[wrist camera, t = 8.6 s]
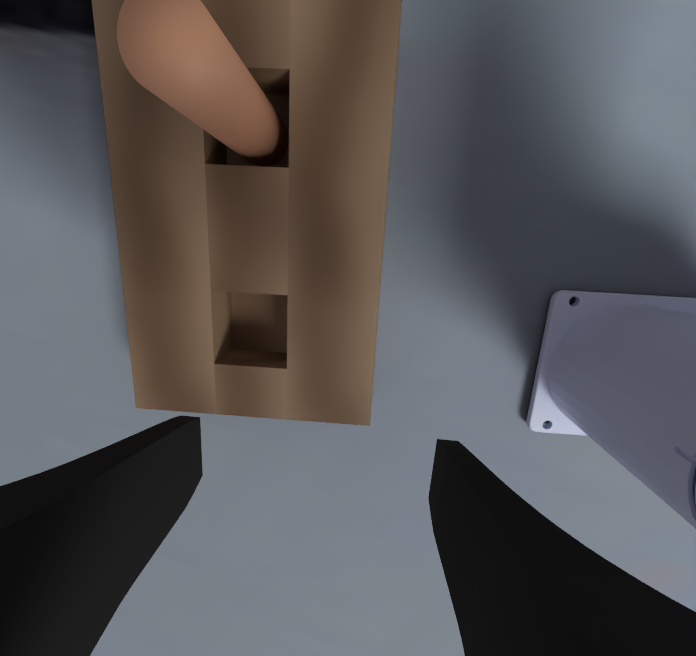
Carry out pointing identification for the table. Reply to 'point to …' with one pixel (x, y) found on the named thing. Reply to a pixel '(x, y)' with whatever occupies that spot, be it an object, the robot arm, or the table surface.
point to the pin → (199, 75)
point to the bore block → (258, 218)
